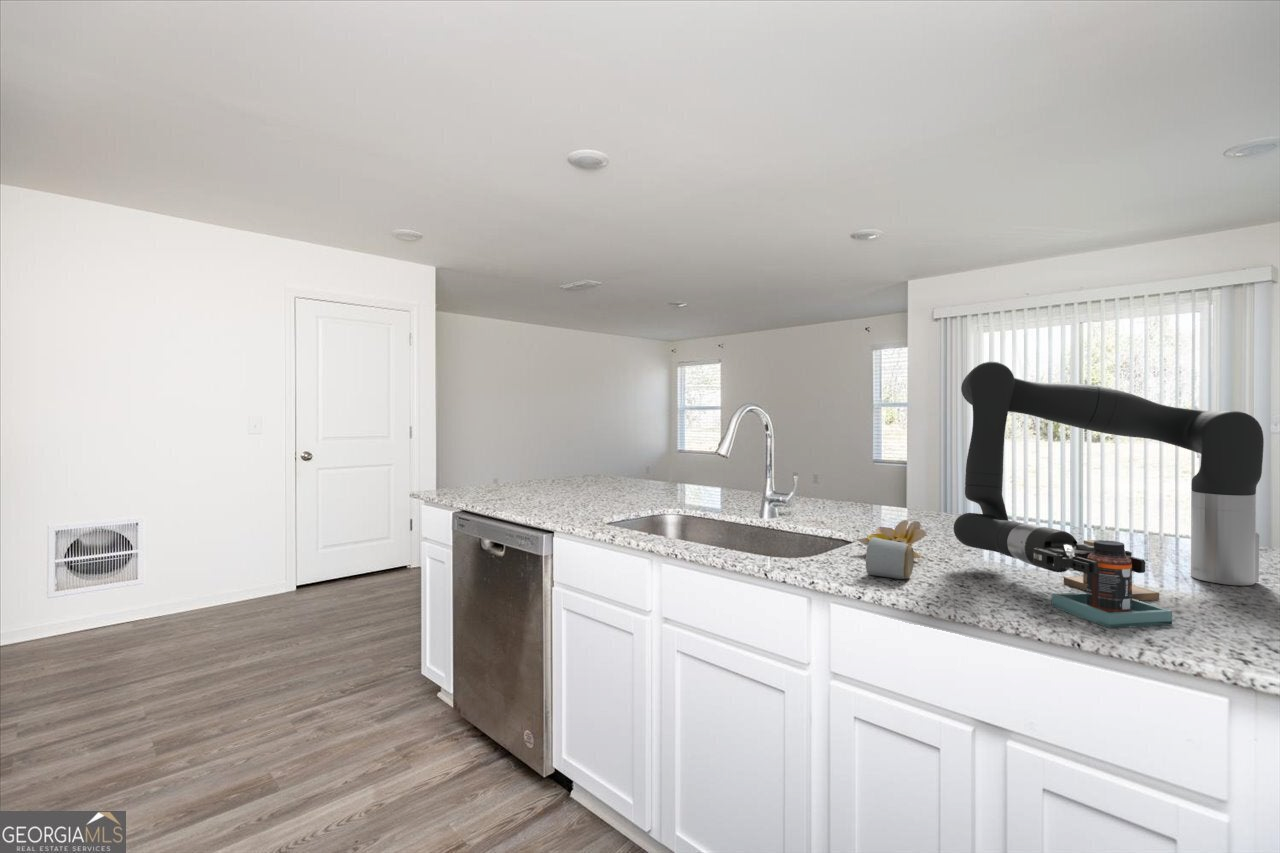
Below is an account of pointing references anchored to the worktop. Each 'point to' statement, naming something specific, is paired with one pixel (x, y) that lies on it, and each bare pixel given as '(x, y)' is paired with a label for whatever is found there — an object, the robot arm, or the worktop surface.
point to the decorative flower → (899, 534)
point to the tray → (1137, 617)
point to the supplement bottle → (1110, 578)
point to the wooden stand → (1137, 591)
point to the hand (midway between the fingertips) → (1120, 567)
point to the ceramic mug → (889, 558)
